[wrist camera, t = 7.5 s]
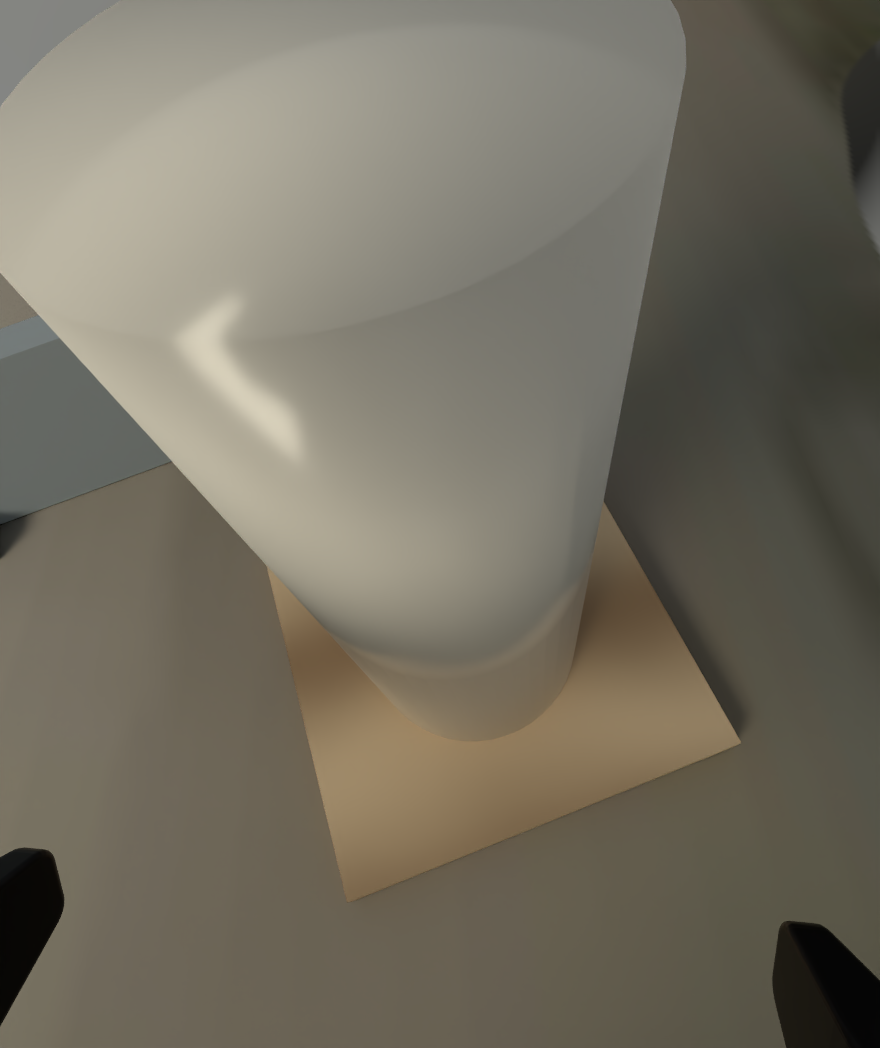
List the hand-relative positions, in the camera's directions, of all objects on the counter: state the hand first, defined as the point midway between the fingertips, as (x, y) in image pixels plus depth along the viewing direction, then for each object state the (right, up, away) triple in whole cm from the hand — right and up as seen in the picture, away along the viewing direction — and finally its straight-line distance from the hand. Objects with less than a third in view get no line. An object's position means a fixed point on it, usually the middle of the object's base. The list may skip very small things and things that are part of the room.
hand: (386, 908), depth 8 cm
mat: (+2, +1, +10) cm, 10 cm away
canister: (+2, +2, +10) cm, 10 cm away
